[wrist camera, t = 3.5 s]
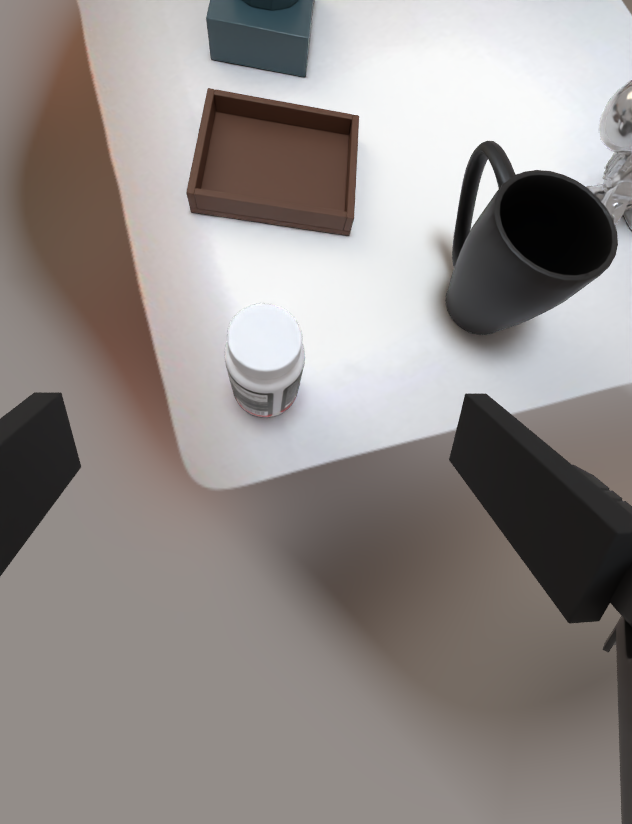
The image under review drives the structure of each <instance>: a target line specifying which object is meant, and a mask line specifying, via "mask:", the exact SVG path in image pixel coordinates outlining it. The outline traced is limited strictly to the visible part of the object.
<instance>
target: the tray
mask: <svg viewBox="0 0 632 824" xmlns="http://www.w3.org/2000/svg"><path fill="white" fill-rule="evenodd" d="M358 128H359V116H358V115H352V114H347V113H341V112H336V111H330V110H325V109H319V108H314V107H308V106H303V105H297V104H292V103H286V102H281V101H275V100H270V99H264V98H259V97H253V96H248V95H242V94H237V93H232V92H226V91H221V90H214V89H210V88H208V90H207V94H206V99H205V104H204V109H203V114H202V119H201V124H200V129H199V134H198V139H197V144H196V148H195V153H194V158H193V163H192V168H191V173H190V178H189V183H188V188H187V197H188V201H189V205H190V210H191V212H193V213H200V214H207V215H213V216H220V217H227V218H233V219H240V220H247V221H254V222H260V223H267V224H274V225H280V226H287V227H294V228H300V229H307V230H314V231H320V232H327V233H334V234H340V235H347V236H349V234H350V230H351V227H352V223H353V220H354V208H355V188H356V168H357V148H358Z"/></svg>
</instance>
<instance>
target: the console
mask: <svg viewBox="0 0 632 824" xmlns="http://www.w3.org/2000/svg"><path fill="white" fill-rule="evenodd" d="M313 2H314V0H210V3H209V8H208V12H207V17H206V21H207V29H208V38H209V46H210V55H211V59H212V60H218V61H223V62H228V63H233V64H239V65H244V66H249V67H254V68H260V69H265V70H270V71H276V72H281V73H286V74H291V75H297V76H302V77H305V76H306V67H307V58H308V49H309V39H310V30H311V20H312V11H313Z"/></svg>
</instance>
